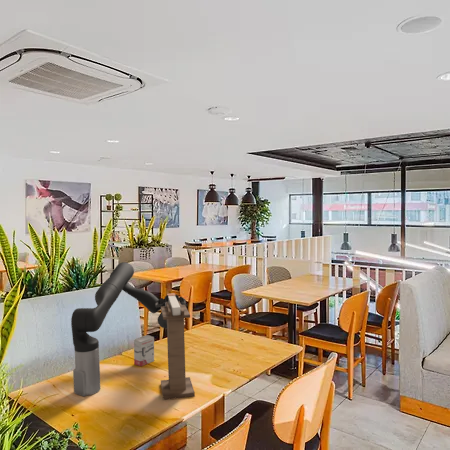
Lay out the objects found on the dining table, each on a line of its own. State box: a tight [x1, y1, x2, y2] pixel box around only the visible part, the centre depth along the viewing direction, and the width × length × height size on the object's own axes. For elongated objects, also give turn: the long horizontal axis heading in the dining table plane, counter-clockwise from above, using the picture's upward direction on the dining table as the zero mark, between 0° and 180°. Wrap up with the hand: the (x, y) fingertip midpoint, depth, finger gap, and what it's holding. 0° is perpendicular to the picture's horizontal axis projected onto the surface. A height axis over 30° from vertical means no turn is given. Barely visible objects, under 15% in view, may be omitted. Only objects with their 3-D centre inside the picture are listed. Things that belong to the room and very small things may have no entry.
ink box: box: [133, 334, 155, 367], centre depth 184 cm, size 9×5×12 cm, turn 143°
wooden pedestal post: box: [160, 301, 196, 401], centre depth 155 cm, size 16×12×34 cm
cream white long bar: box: [166, 292, 181, 316], centre depth 159 cm, size 24×3×3 cm, turn 13°
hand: (172, 297), depth 165 cm, fingers closed on cream white long bar, 3 cm apart
